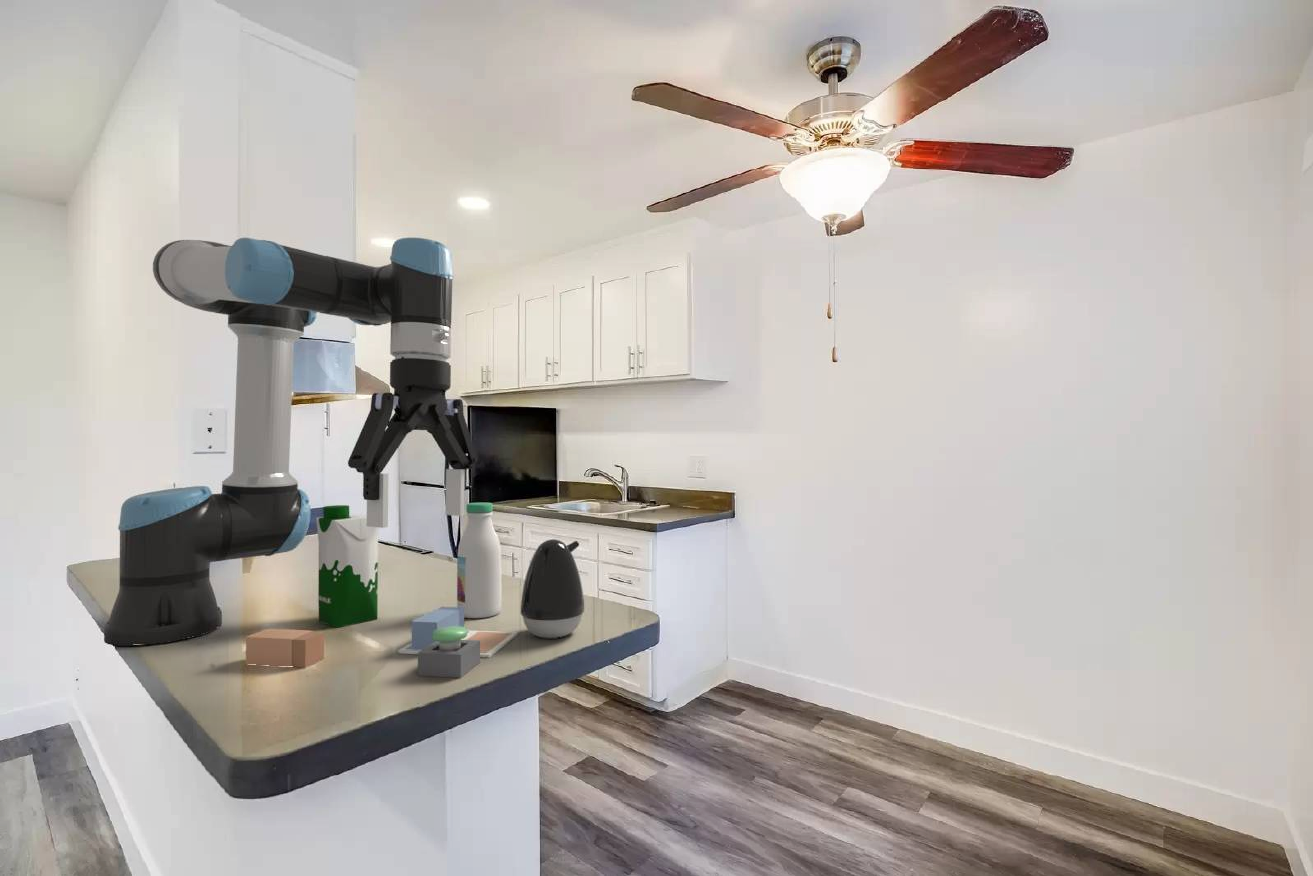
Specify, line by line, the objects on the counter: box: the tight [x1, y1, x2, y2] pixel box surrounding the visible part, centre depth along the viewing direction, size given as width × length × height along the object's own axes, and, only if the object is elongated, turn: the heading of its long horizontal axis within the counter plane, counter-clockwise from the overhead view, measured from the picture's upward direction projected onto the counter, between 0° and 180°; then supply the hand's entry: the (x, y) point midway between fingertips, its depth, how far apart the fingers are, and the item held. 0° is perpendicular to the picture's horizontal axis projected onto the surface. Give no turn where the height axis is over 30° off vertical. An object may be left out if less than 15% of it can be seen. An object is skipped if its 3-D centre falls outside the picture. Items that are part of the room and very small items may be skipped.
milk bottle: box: [456, 502, 502, 619], centre depth 114 cm, size 8×8×20 cm
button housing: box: [417, 640, 481, 679], centre depth 86 cm, size 6×6×3 cm
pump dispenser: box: [519, 539, 585, 639], centre depth 102 cm, size 10×10×15 cm
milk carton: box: [315, 504, 380, 628], centre depth 110 cm, size 9×9×20 cm
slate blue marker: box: [411, 606, 465, 649], centre depth 97 cm, size 9×4×4 cm, turn 172°
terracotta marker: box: [245, 628, 325, 669], centre depth 89 cm, size 9×4×4 cm, turn 82°
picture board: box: [397, 629, 518, 659], centre depth 96 cm, size 14×11×1 cm
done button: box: [433, 626, 468, 651], centre depth 86 cm, size 4×4×3 cm
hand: (418, 520), depth 83 cm, fingers open, 13 cm apart
